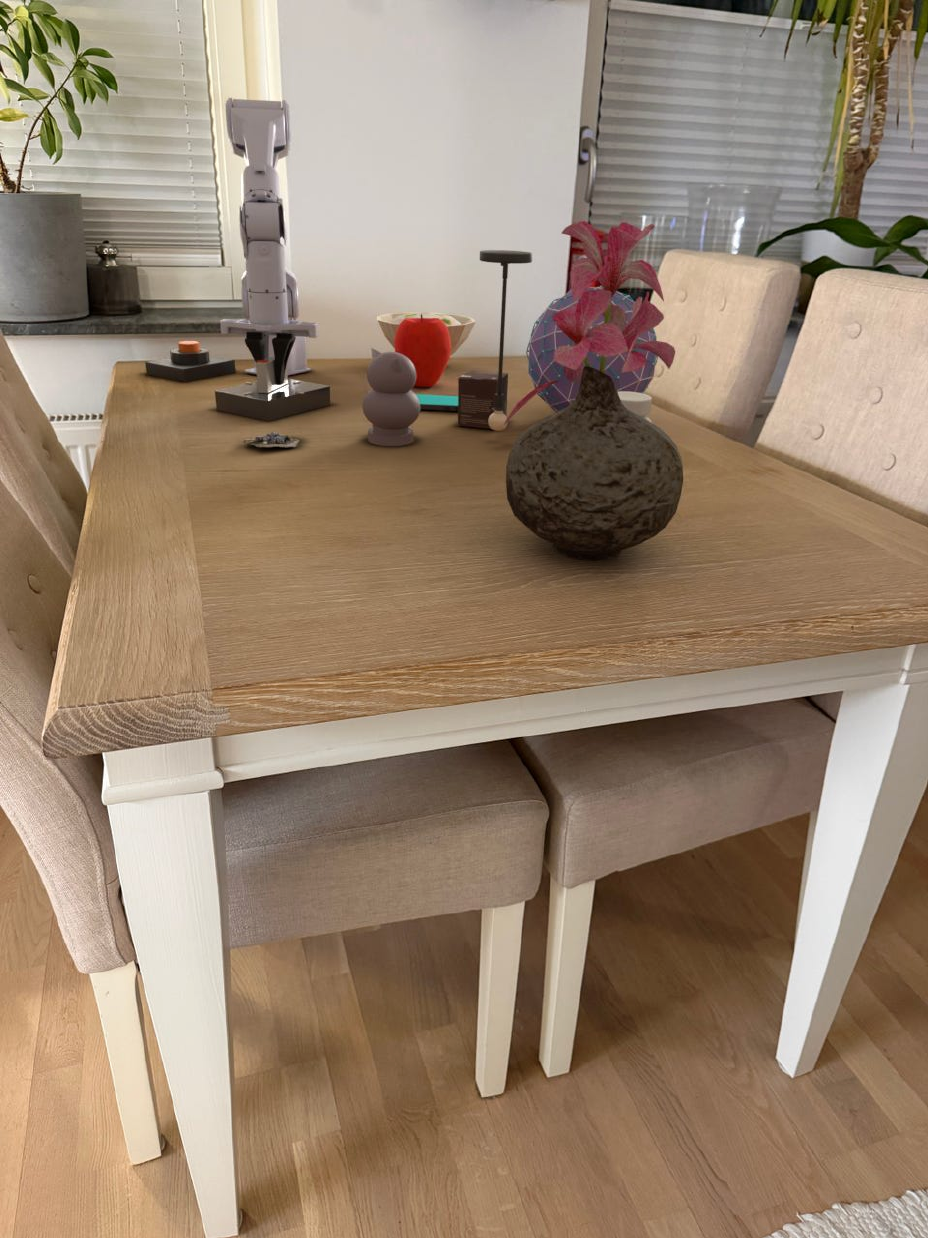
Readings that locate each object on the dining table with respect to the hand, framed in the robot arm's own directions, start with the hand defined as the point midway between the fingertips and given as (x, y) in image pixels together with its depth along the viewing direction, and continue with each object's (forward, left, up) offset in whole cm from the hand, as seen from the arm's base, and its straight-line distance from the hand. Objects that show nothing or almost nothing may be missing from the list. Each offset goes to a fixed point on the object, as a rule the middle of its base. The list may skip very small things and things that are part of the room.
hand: (273, 383), depth 138 cm
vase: (+25, +66, -4) cm, 71 cm away
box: (-12, +31, -4) cm, 34 cm away
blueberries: (+16, +15, -4) cm, 22 cm away
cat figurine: (+4, +26, -4) cm, 27 cm away
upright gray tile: (0, 0, -1) cm, 1 cm away
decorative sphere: (-25, +42, -4) cm, 49 cm away
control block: (-10, -30, -4) cm, 32 cm away
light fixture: (-3, +39, -4) cm, 39 cm away
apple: (-29, +8, -4) cm, 30 cm away
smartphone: (-18, +20, -4) cm, 27 cm away
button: (-10, -30, 0) cm, 32 cm away
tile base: (0, 0, -4) cm, 4 cm away
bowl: (-44, -2, -4) cm, 44 cm away
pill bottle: (+5, +61, -4) cm, 61 cm away
